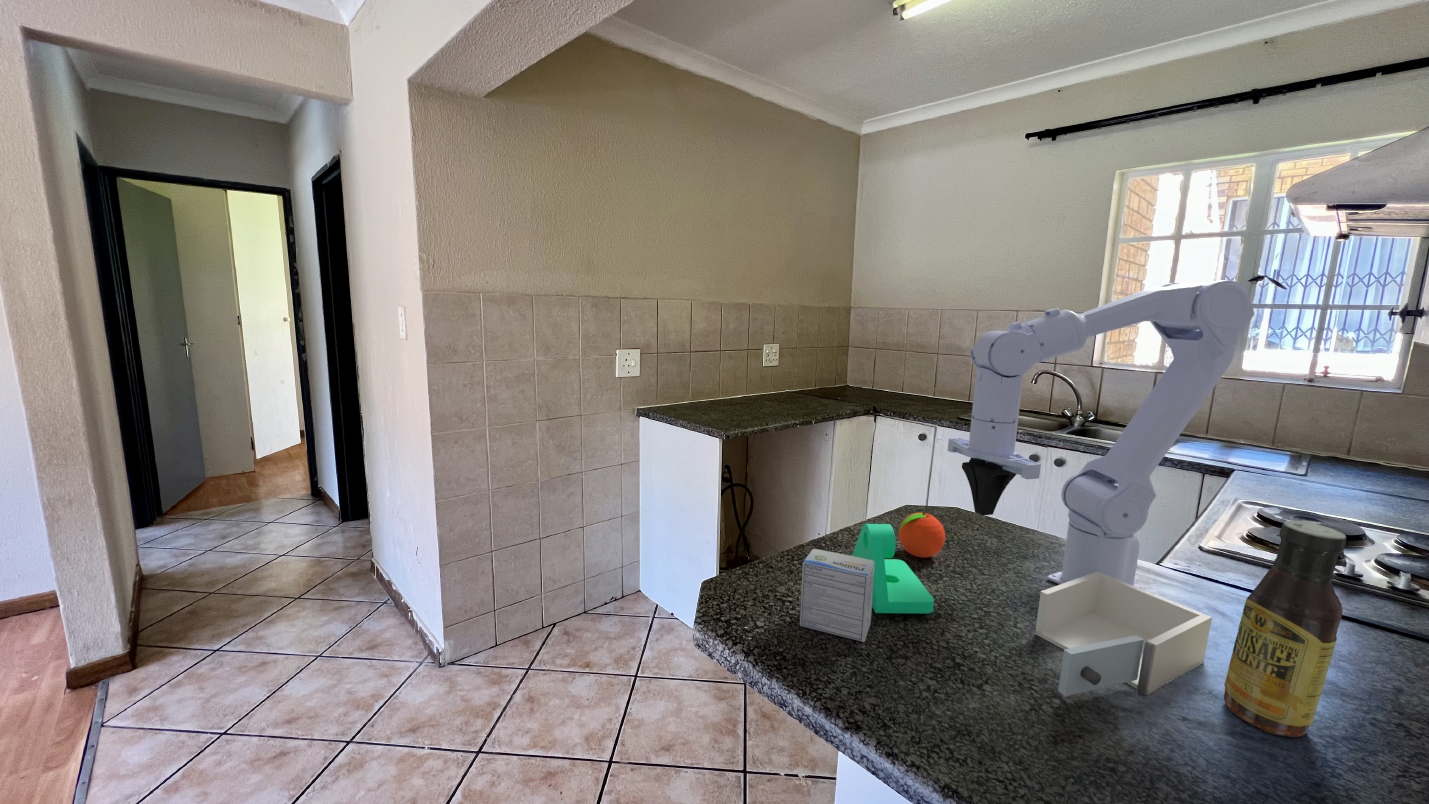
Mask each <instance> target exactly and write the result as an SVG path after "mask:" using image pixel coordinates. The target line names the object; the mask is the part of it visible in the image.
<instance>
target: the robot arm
mask: <svg viewBox="0 0 1429 804" xmlns="http://www.w3.org/2000/svg"><path fill="white" fill-rule="evenodd" d="M1254 316H1255V311H1254V308H1253V304H1252V301H1251V298H1250V295H1249V293H1248V291H1247V289H1246V288H1245V286H1244V285H1243V284H1241V283H1240V282H1237V281H1234V280H1232V279H1231V280H1229V279H1224V280H1223V279H1222V280H1218V281H1217V280H1216V281H1211V282H1209V281H1208V282H1207V281H1206V282H1191V283H1188V282H1187V283H1179V282H1170V283H1165V284H1163V285H1160V286H1154V287H1148V288H1145V289H1142V290H1140V291H1137V292H1134V293H1132V294H1129V295H1127V296H1123V297H1121V298H1118V299H1115V300H1113V301H1111V302H1108V303H1105V304H1102V305H1100V306H1096V307H1094V308H1093V309H1090V310H1087V311H1085V312H1082V313H1077V312H1074V311H1072V310H1070V309H1062V310H1061V309H1060V308H1057V307H1056V308H1050V309H1047V310H1044V316H1040V317H1037V318H1034V319H1032V320H1029V321H1026V322H1023V323H1022V322H1021V321H1015V322H1012V323H1009V328H1008V329H1007V331H1005V330H990V331H987V332H985V333H983V334H981V335H980V338H977V340H976V342H975V343H974V346H973V348H972V349H970V350H969V351H970V352H969V356H970V360H971V362H972V363H973V366H975V368H976V372H975V373H976V374H975V381H974V383H975V384H974V389H973V390H974V391H973V400H972V408H971V409H972V410H971V418H970V419H971V420H970V427H969V428H970V429H969V437H968V439H964V438H961V437H953V438H951V437H950V438H948V444H947V452H950V453H956V454H959V455H963V456H965V457H966V458H967V457H968V458H970V459H969V460H968V461H965V462H962V463H961V468H962V470H963V472H964V474H965V476H966V479H967V482H968V485H969V488H970V492H971V497H972V502H973V509H974V513H976V514H978V515H979V516H982V517H983V516H992V515H994V512H995V510H996V507H997V505H998V503H999V501H1000V499H1001V496H1002V495H1003V493H1004V492H1005V489H1006V488H1007V487H1008V485H1009V484H1010V482H1011V481H1012V480H1013V479H1014V478H1015V477H1016V476H1017V475H1019V476H1021V478H1022V479H1025V480H1036V479H1040V472H1041V465H1042V464H1041V463H1038V462H1036V461H1034V460H1032V459H1029V458H1028V457H1026V456H1024V455H1022V454H1020V453H1017V451H1015V448H1016V441H1017V440H1016V439H1017V435H1018V434H1017V432H1018V425H1019V415H1020V407H1021V399H1022V391H1023V389H1022V388H1023V379H1024V374H1027V372H1029V370H1030V369H1031V368H1032V367H1033V366H1034V365H1037V364H1040V363H1043V362H1046V361H1049V360H1052V359H1055V358H1058V357H1061V356H1064V355H1067V354H1071V353H1073V352H1077V351H1080V350H1081V349H1082V348H1084V346H1085V344H1086V342H1087V340H1088V338H1090V337H1093V336H1096V335H1101V334H1104V333H1108V332H1111V331H1114V330H1118V329H1121V328H1122V329H1123V328H1124V327H1129V326H1133V325H1136V324H1139V323H1140V324H1141V323H1143V322H1150V323H1151V325H1152V326H1153V328H1154V329H1155V330H1156V331H1157V333H1158V334H1159V336H1160V337H1161V338H1162V340H1163V341H1164V342H1165V344H1166V345H1167V347H1168V348H1169V349H1170V351H1171V353H1172V356H1173V359H1172V360H1171V362H1170V364H1169V365H1168V366H1167V368H1165V369H1166V370H1165V371H1164V372H1163V374H1162V375H1161V377H1160V378H1159V379H1158V381H1157V383H1156V384H1155V385H1154V387H1153V388H1152V390H1151V391H1150V392H1149V394H1148V395H1147V397H1146V398H1145V399H1144V401H1143V402H1142V404H1141V405H1140V407H1139V408H1138V409H1137V411H1135V413H1134V414H1133V416H1132V418H1131V419H1130V421H1129V422H1128V424H1127V425H1126V426H1125V428H1124V429H1123V431H1122V432H1121V434H1120V435H1119V436H1118V438H1117V440H1116V441H1114V444H1113V445H1112V446H1111V448H1110V449H1109V451H1108V452H1107V453H1106V455H1105V454H1104V455H1103V456H1101V457H1097V458H1095V459H1092V460H1090V461H1087V462H1086V464H1085V465H1084V466H1083V468H1082V469H1081V470H1080V471H1079V472H1078V473H1076V474H1074V475H1072V476H1070V478H1068V479H1067V480H1066V481H1065V483H1064V484H1063V487H1062V489H1061V495H1060V496H1061V500H1062V503H1063V505H1064V506H1065V508H1066V509H1068V513H1067V517H1068V518H1069V519H1068V523H1067V532H1066V540H1065V547H1064V548H1065V549H1064V553H1063V554H1064V555H1063V560H1062V561H1063V563H1062V566H1061V567H1062V568H1061V571H1058V572H1055V573H1052V574H1049V575H1048V576H1047V580H1049V581H1051V582H1053V583H1055V584H1058V585H1060V584H1063V583H1066V582H1069V581H1072V580H1074V579H1077V578H1080V577H1083V576H1086V575H1089V574H1091V573H1094V572H1097V571H1098V572H1100V573H1103V574H1105V575H1108V576H1110V577H1113V578H1115V579H1118V580H1120V581H1123V582H1125V583H1128V584H1130V585H1133V586H1135V587H1138V588H1140V589H1142V587H1141V585H1139V584H1136V583H1135V577H1136V571H1137V565H1138V559H1139V555H1140V554H1139V553H1140V546H1141V545H1140V542H1139V538H1138V535H1136V533H1137V532H1139V531H1140V530H1142V528H1143V526H1145V524H1146V522H1147V519H1148V517H1149V510H1150V507H1151V504H1152V503H1153V502H1154V500H1155V499H1156V498H1157V493H1156V490H1155V488H1154V486H1153V482H1152V480H1151V476H1152V474H1153V472H1154V471H1155V470H1156V469H1157V467H1158V465H1159V464H1160V463H1161V461H1162V460H1163V458H1165V456H1166V454H1167V453H1168V452H1169V451H1170V449H1171V447H1172V446H1173V445H1174V443H1175V442H1176V441H1177V439H1178V438H1179V437H1180V435H1181V434H1182V432H1183V431H1184V430H1185V428H1186V427H1187V425H1188V424H1189V423H1190V421H1191V420H1192V418H1193V417H1194V416H1195V414H1196V413H1197V412H1198V410H1199V409H1200V407H1202V405H1203V403H1204V402H1205V400H1207V398H1208V396H1209V395H1210V394H1211V392H1212V391H1213V389H1214V388H1215V387H1216V385H1217V384H1218V383H1219V381H1220V380H1221V378H1222V377H1223V376H1224V374H1225V373H1226V371H1227V370H1229V367H1230V366H1231V364H1232V362H1233V360H1234V355H1235V351H1236V348H1237V346H1238V345H1237V344H1238V340H1239V337H1240V335H1241V334H1242V332H1243V331H1244V330H1245V329H1246V328H1247V325H1248V324H1249V322H1251V320H1252V319H1253V317H1254Z"/></svg>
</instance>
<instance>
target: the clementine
mask: <svg viewBox="0 0 1429 804" xmlns="http://www.w3.org/2000/svg"><path fill="white" fill-rule="evenodd" d="M898 528H899V529H898V537H899V542H900V544H901V545H902V547H903V548H904V550H905V551H906V552H907V553H909V554H910V555H912V556H914V557H918V558H930V557H934V556H936V555H937V554H938V553H939V552H940V551H941V550H942V548H943V547H944V545H945V542H946V532H945V528H944V526H943V524H942V523H941V522H940V521H939V520H938V519H937V518H936V517H935V516H934V515H932V514H931V513H926V512H915V513H911V514H909V515H908V516H906V517H904V519H903V520H902V522H901V523H900V525H899V527H898Z"/></svg>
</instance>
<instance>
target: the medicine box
mask: <svg viewBox="0 0 1429 804" xmlns="http://www.w3.org/2000/svg"><path fill="white" fill-rule="evenodd" d="M874 566H875V562H874V561H873V560H868V559H863V558H859V557H854V556H852V555H849V554H843V553H839V552H835V551H834V552H833V551H828V550H823V549H817V548H813V549H811V551H810V552H809V553H808V554H807V556H806V558H804V560H803V561H802V571H801V572H802V574H801V576H802V577H801V591H800V592H801V595H800V596H801V597H800V612H799V613H800V614H799V617H800V618H799V626H800V627H804V628H807V629H811V630H816V631H820V632H823V633H827V634H830V635H833V636H839V637H843V638H845V639H846V638H847V639H850V640H855V641H859V642H862V643H865V642H866V639H867V635H868V632H869V629H870V626H871V623H872V611H873V610H872V609H873V607H872V594H873V579H874Z"/></svg>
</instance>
